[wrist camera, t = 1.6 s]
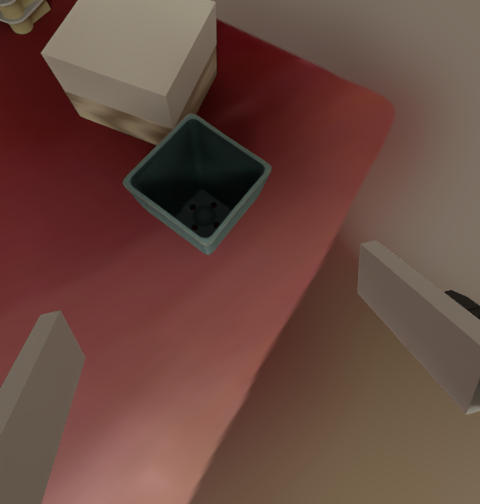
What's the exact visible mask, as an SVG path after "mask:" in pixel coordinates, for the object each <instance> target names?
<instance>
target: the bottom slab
mask: <svg viewBox="0 0 480 504" xmlns="http://www.w3.org/2000/svg"><path fill="white" fill-rule="evenodd" d="M216 75H217V62H216V46H215V48H214V50H213V52H212V54H211V56H210V58H209V60H208V62H207V64H206V66H205V68H204V70H203V72H202V74H201V76H200V78H199V80H198V82H197V84H196V86H195V88H194V90H193V91H192V93H191V95H190V97H189V99H188V101H187V103H186V105H185V107H184V109H183V111H182V113H181V115H180V117H179V119H178V121H177V123H176V125H175V127H176V126H177V124H178V123H179V122H180V121H181V120H182V119H183V118H184V117H185V116H187V115H188V114H190V113H192V114H195V115H196V113H197V111H198V110H199V108H200V106H201V104H202V102H203V100H204V98H205V96H206V94H207V92H208V90H209V88H210V86H211V84H212V82H213V81H214V79H215V77H216ZM64 91H65V90H64ZM65 93H66V95H67V96H68V98H69V99H70V101H71V102H72V104H73V106H74V107H75V109H76V110H77V112H78V113H79V115H80V117H83V118H86V119H88V120H91V121H94V122H96V123H99V124H102V125H104V126H107V127H110V128H112V129H115V130H118V131H120V132H123V133H126V134H128V135H131V136H134V137H136V138H139V139H142V140H144V141H147V142H149V143H152V144H155V145H158V144H159V143H160V142H161V141H162V140H163V139H164V138H165V137H166V136H167V135H168V134H169V133H170V132H171V131H172V130H173V129H171V128H168V127H165V126H162V125H159V124H156V123H154V122H151V121H148V120H145V119H142V118H139V117H137V116H134V115H131V114H128V113H125V112H122V111H120V110H117V109H114V108H111V107H108V106H105V105H102V104H100V103H97V102H94V101H91V100H88V99H85V98H83V97H80V96H77V95H74V94H71V93H68V92H65Z"/></svg>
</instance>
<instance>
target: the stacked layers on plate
mask: <svg viewBox="0 0 480 504" xmlns="http://www.w3.org/2000/svg"><path fill="white" fill-rule="evenodd" d="M49 10H51V9H50V7H49V5H48V3H47V1H46V0H0V21H3V22H6V23H9V25H10V26H11V28H12V29H13V31H14V32H15V33H18V34H26V33H28V32H30V31H31V30H32V29H33V23H35V22H36V21H37V20H38V19H39V18H41V17H42V16H43V15H44V14H46V13H47V12H48V11H49Z"/></svg>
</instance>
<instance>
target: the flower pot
mask: <svg viewBox="0 0 480 504" xmlns="http://www.w3.org/2000/svg"><path fill="white" fill-rule="evenodd" d="M271 169H272V168H271V166H270V165H269V164H268V163H267V162H265V161H264V160H263V159H261V158H259V157H258V156H256V155H255V154H253V153H252V152H250V151H249V150H247V149H246V148H244V147H243V146H241V145H240V144H238V143H237V142H235V141H234V140H232V139H231V138H229V137H228V136H226V135H225V134H223V133H222V132H220V131H219V130H217V129H216V128H215V127H213V126H212V125H210V124H209V123H208V122H206V121H205V120H203V119H202V118H201V117H199V116H197V115H195V114H192V113H190V114H188V115H187V116H185V117H184V118H183V119H182V120H181V121H180V122H179V123H178V124H177V126H176V127H174V129H173V130H172V131H171V132H170V133H169V134H168V135H167V136H166V137H165V138H164V139H163V140H162V141H161V142H160V143H159V144H158V145H157V146H156V147H155V148H154V149H153V150H152V151H151V152H150V153H149V154H148V155H147V156H146V157H145V158H144V159H143V160H142V161H141V162H140V163H139V164H138V165H137V166H136V167H135V168H134V169H133V170H132V171H131V172H130V173H129V174H128V175H127V176H126V177H125V179H124V180H123V185H124V187H125V188H126V189H127V190H128V191H129V192H130V193H131V194H132V195H133V196H134V197H135V199H136V200H137V201H138V202H139V203H140V204H141V205H142V206H143V207H144V208H145V209H146V210H147V211H148V212H149V213H151V214H152V215H154V216H155V217H156V218H158V219H159V220H160V221H162V222H163V223H164V224H166V225H167V226H168V227H170V228H171V229H172V230H174V231H175V232H176V233H178V234H179V235H180V236H182V237H183V238H184V239H186V240H187V241H188V242H190V243H191V244H192V245H194V246H195V247H196V248H198V249H199V250H200V251H202V252H203V253H204V254H207V255H209V254H211V253H212V252H213V251H214V250H215V249H216V248H217V246H218V245H219V244H220V243H221V241H222V240H223V239H224V238H225V236H226V235H227V234H228V233H229V231H230V230H231V229H232V228H233V226H234V225H235V224H236V223H237V222H238V220H239V219H240V218H241V217H242V216H243V214H244V213H245V212H246V211H247V210H248V208H249V207H250V206H251V205H252V204H253V203H254V201H255V200H256V199H257V197H258V196H259V194H260V192H261V190H262V188H263V186H264V184H265V182H266V180H267V178H268V176H269V174H270V172H271ZM212 204H216V208H212ZM192 206H194V207H195V210H191V207H192ZM215 223H218V224H219V227H218V228H216V227H214V224H215ZM193 226H197V227H198V228H197V230H193Z"/></svg>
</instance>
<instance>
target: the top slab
mask: <svg viewBox="0 0 480 504" xmlns="http://www.w3.org/2000/svg"><path fill="white" fill-rule="evenodd" d="M216 44H217V41H216V2H214V1H211V0H78V1H77V2H76V4H75V5H74V7H73V8H72V10H71V11H70V12H69V14H68V15H67V17H66V18H65V19H64V21H63V22H62V24H61V25H60V27H59V28H58V29H57V31H56V32H55V34H54V35H53V36H52V38H51V39H50V41H49V42H48V44H47V45H46V46H45V48H44V49H43V51H42V52H41V54H42V56H43V57H44V59H45V61H46V62H47V64H48V65H49V67H50V68H51V70H52V72H53V73H54V75H55V76H56V78H57V79H58V81H59V83H60V84H61V86H62V87H63V89H64V90H65V92H68V93H71V94H74V95H77V96H80V97H83V98H85V99H88V100H91V101H94V102H97V103H100V104H102V105H105V106H108V107H111V108H114V109H117V110H120V111H122V112H125V113H128V114H131V115H134V116H137V117H139V118H142V119H145V120H148V121H151V122H154V123H156V124H159V125H162V126H165V127H168V128H171V129H174V127H175V125H176V123H177V121H178V119H179V117H180V115H181V113H182V111H183V109H184V107H185V105H186V103H187V101H188V99H189V97H190V95H191V93H192V91H193V90H194V88H195V86H196V84H197V82H198V80H199V78H200V76H201V74H202V72H203V70H204V68H205V66H206V64H207V62H208V60H209V58H210V56H211V54H212V52H213V50H214V48H215V46H216Z"/></svg>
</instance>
